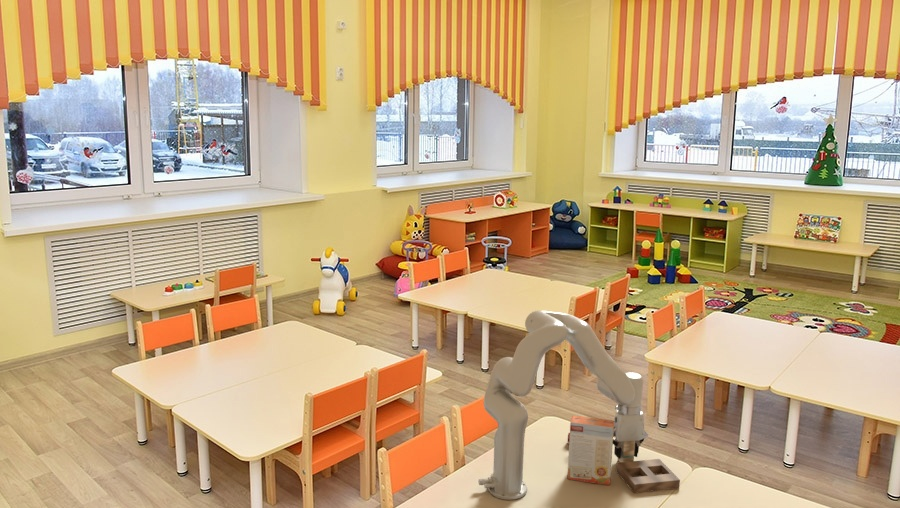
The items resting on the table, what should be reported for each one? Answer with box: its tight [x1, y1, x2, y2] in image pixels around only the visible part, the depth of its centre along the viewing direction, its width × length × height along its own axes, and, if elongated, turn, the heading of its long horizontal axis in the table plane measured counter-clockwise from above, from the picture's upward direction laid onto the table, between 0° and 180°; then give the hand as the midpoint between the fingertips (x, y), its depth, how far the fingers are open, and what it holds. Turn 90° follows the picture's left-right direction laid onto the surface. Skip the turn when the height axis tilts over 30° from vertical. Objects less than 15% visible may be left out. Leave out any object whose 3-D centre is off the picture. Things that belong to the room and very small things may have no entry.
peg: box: [617, 441, 635, 463], centre depth 247 cm, size 4×4×10 cm
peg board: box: [615, 458, 681, 494], centre depth 237 cm, size 16×14×3 cm
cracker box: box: [567, 415, 614, 486], centre depth 235 cm, size 14×6×21 cm, turn 74°
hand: (626, 455), depth 248 cm, fingers open, 5 cm apart
